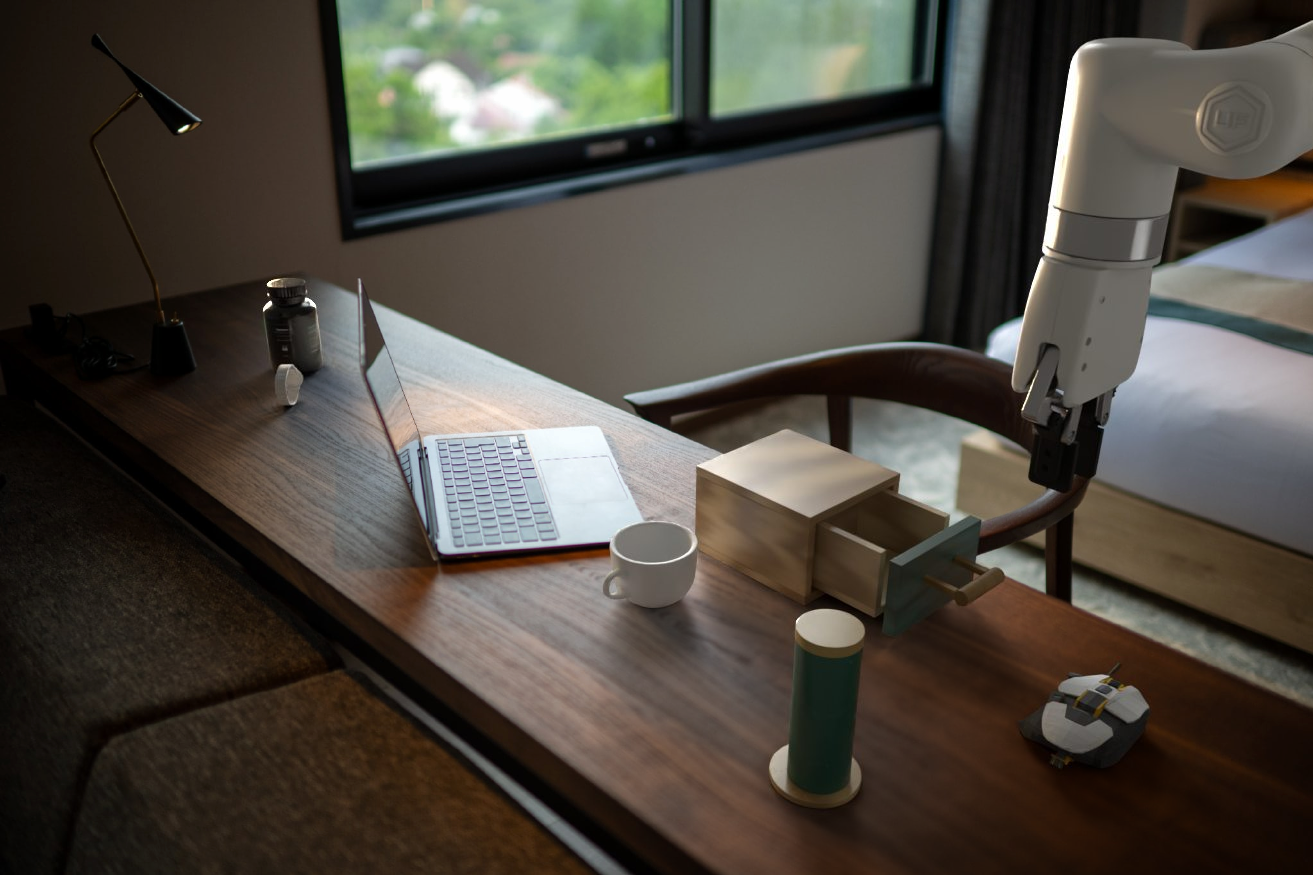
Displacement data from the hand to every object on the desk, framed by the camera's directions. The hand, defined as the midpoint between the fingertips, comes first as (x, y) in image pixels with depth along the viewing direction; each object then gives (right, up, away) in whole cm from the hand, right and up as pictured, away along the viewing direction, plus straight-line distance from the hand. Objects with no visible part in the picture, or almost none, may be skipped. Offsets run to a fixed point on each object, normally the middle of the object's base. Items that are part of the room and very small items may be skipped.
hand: (1061, 477), depth 81 cm
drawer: (-9, -11, +15) cm, 21 cm away
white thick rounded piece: (-76, +7, +57) cm, 96 cm away
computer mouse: (+2, -19, +1) cm, 19 cm away
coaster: (-19, -21, -4) cm, 28 cm away
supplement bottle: (-79, +12, +69) cm, 105 cm away
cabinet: (-17, -8, +24) cm, 30 cm away
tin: (-19, -20, -5) cm, 28 cm away
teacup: (-31, -12, +16) cm, 37 cm away
